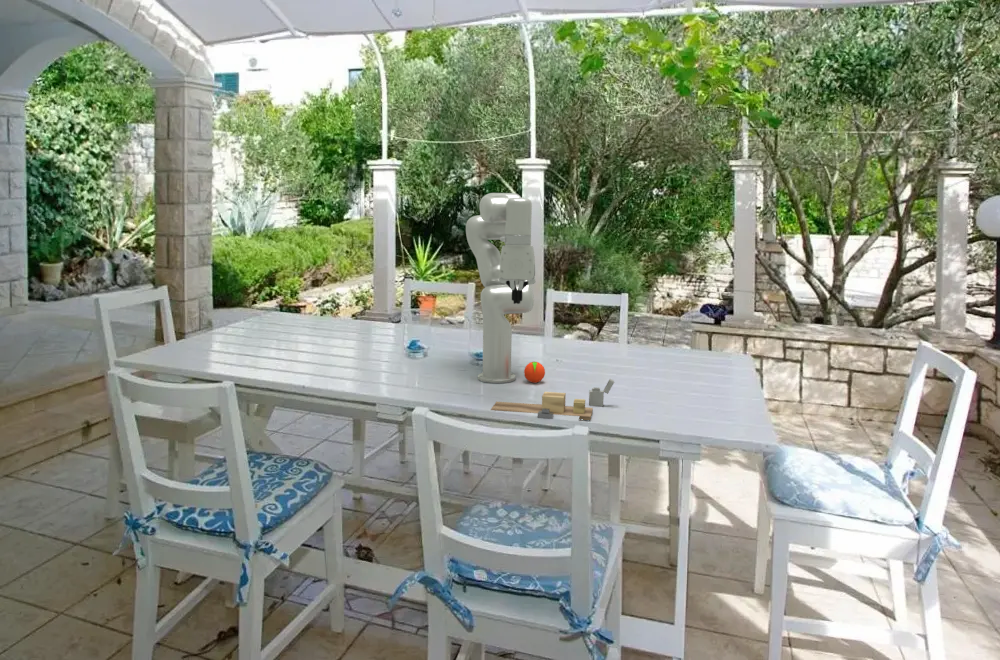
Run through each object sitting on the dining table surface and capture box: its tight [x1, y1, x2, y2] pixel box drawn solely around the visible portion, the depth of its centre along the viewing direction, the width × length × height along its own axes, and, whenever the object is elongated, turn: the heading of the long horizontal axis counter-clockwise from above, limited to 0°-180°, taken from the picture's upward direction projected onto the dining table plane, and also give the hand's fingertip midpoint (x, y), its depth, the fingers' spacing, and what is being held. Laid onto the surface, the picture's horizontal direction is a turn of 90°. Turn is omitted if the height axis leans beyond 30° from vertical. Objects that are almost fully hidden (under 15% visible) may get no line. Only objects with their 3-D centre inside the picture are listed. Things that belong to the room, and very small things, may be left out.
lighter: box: [588, 378, 615, 407], centre depth 218 cm, size 7×2×8 cm, turn 86°
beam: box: [490, 398, 594, 421], centre depth 210 cm, size 12×28×4 cm, turn 79°
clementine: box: [523, 361, 546, 384], centre depth 244 cm, size 8×7×7 cm
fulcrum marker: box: [537, 408, 554, 420], centre depth 202 cm, size 2×4×3 cm, turn 79°
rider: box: [541, 391, 567, 413], centre depth 209 cm, size 5×6×4 cm
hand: (516, 303), depth 220 cm, fingers closed
